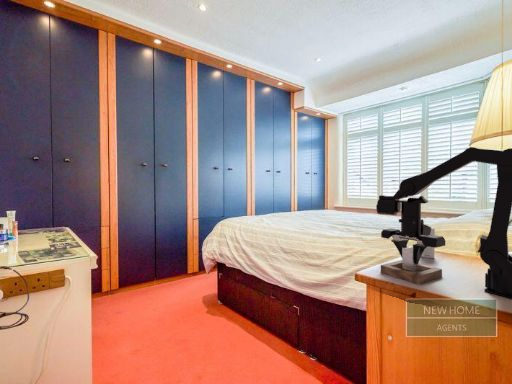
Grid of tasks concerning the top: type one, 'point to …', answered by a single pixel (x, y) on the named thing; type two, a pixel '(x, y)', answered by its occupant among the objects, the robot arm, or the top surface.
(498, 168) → the robot arm
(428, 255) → the skincare box
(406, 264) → the steel square peg
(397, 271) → the square wooden frame
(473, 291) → the top surface
